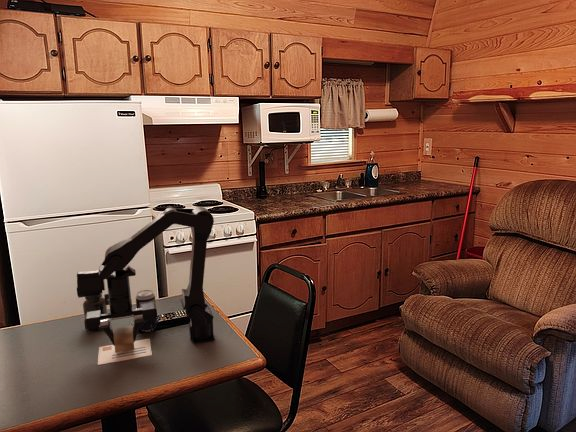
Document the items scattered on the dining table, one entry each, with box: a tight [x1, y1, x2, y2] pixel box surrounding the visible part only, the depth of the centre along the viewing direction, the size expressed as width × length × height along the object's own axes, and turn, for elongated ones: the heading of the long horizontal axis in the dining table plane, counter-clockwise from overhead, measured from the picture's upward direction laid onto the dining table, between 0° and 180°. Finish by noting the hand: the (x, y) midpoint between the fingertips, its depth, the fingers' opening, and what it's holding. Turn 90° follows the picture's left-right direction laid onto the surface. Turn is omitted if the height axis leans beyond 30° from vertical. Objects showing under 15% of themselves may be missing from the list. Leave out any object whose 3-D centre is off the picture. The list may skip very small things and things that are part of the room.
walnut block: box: [113, 325, 134, 353], centre depth 126 cm, size 5×5×5 cm
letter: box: [97, 338, 152, 366], centre depth 127 cm, size 14×10×1 cm
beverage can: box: [135, 289, 158, 333], centre depth 139 cm, size 6×6×12 cm
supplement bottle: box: [82, 293, 109, 332], centre depth 140 cm, size 7×7×12 cm
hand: (124, 343), depth 126 cm, fingers closed on walnut block, 5 cm apart
